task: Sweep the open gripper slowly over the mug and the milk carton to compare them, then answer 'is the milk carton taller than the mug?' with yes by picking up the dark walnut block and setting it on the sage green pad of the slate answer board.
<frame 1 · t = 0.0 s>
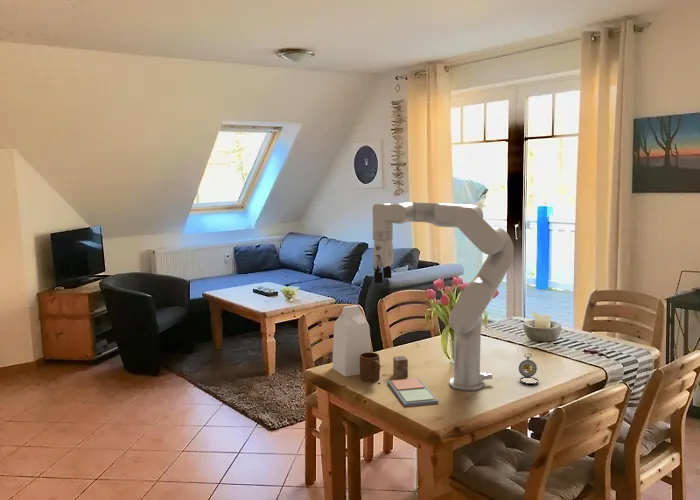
hand: (382, 280, 226), 37 cm above the table, tool pointing down, fingers open, 9 cm apart
milk: (352, 370, 236), on the table
answer board: (411, 392, 211), on the table
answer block: (400, 375, 229), on the table
mug: (372, 381, 224), on the table
pocket watch: (528, 381, 221), on the table
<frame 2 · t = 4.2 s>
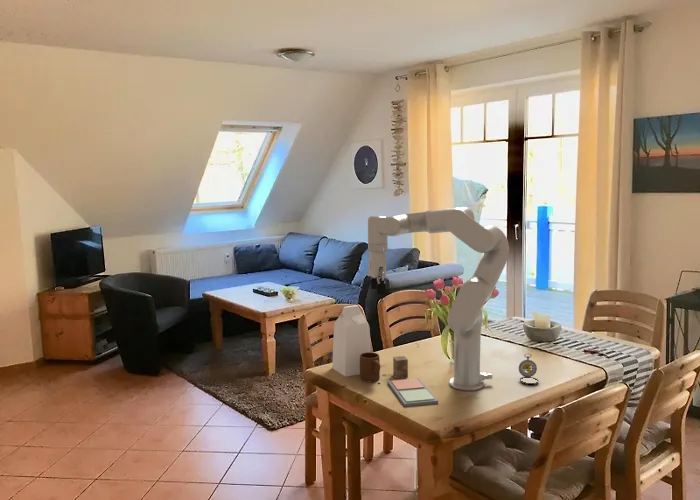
hand: (378, 291, 230), 32 cm above the table, tool pointing down, fingers open, 9 cm apart
nothing on the table moved.
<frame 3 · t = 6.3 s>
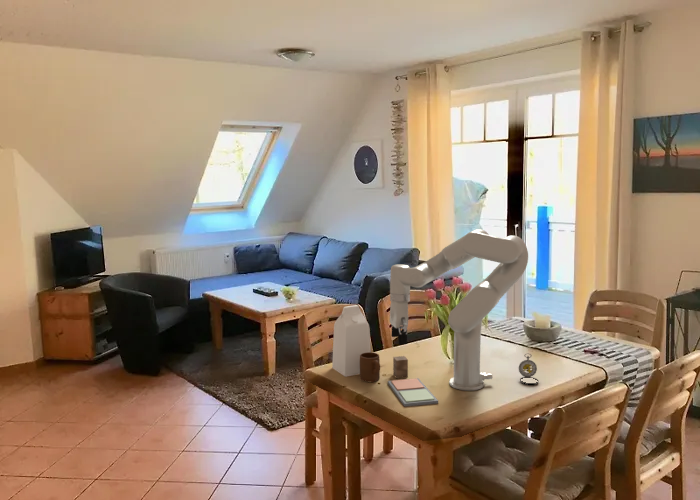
hand: (399, 340, 227), 14 cm above the table, tool pointing down, fingers open, 9 cm apart
nothing on the table moved.
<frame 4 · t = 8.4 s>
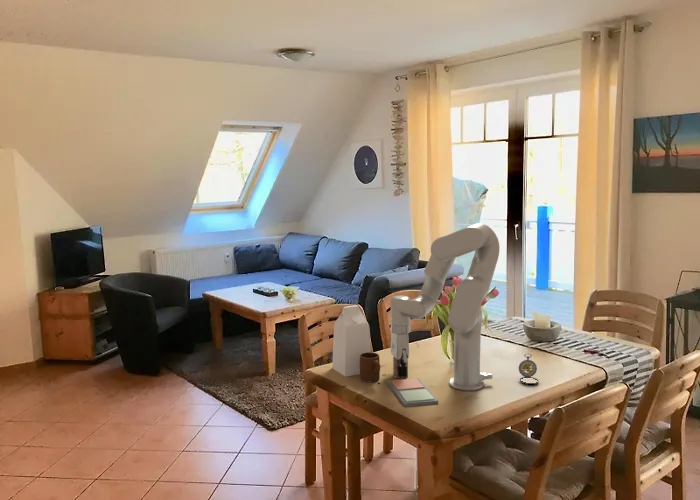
hand: (400, 373, 229), 1 cm above the table, tool pointing down, fingers closed on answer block, 4 cm apart
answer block: (400, 375, 229), on the table, touching gripper
everything else where it was.
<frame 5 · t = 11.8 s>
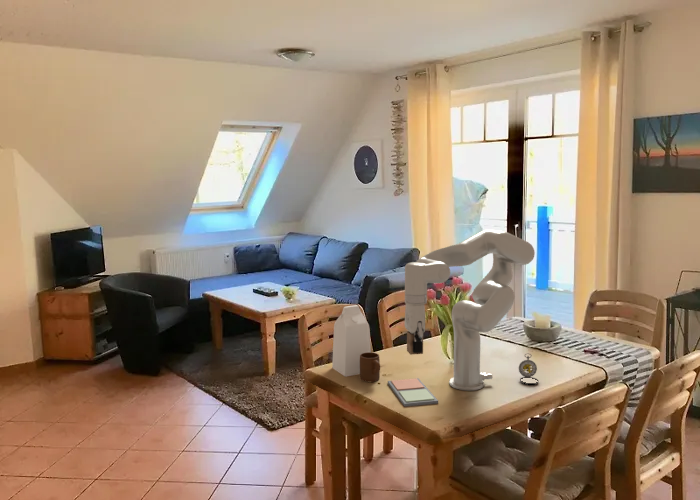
hand: (415, 349, 204), 17 cm above the table, tool pointing down, fingers closed on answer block, 4 cm apart
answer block: (414, 352, 205), point 17 cm above the table, touching gripper
everything else where it was.
when the fingers open (4 cm above the table, at t = 15.3 s): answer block drops 1 cm, resting on answer board.
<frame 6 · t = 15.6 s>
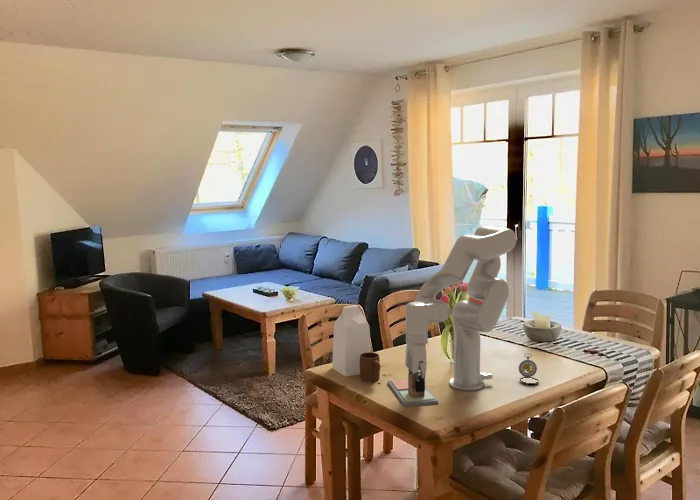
hand: (416, 386, 205), 4 cm above the table, tool pointing down, fingers open, 7 cm apart
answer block: (416, 394, 206), point 1 cm above the table, touching answer board
everything else where it was.
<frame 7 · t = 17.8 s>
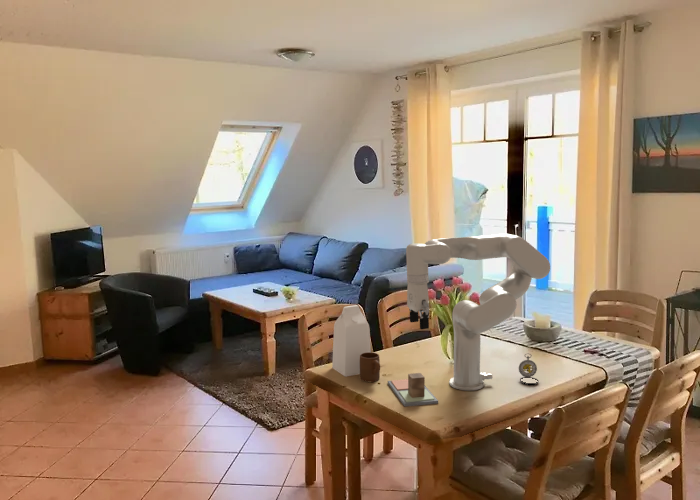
hand: (419, 325, 212), 24 cm above the table, tool pointing down, fingers open, 9 cm apart
nothing on the table moved.
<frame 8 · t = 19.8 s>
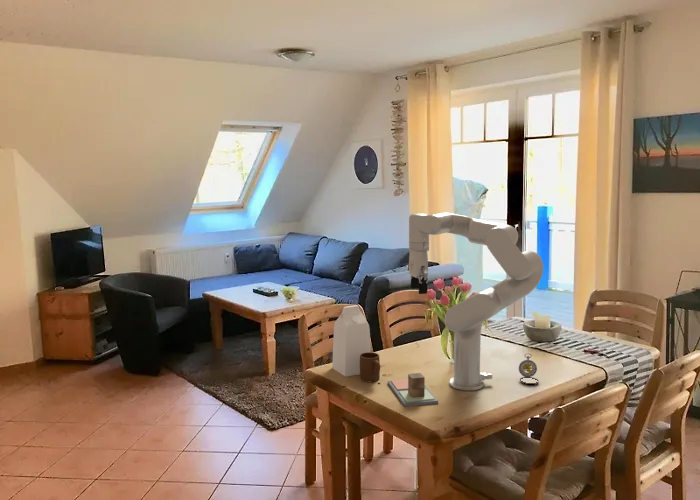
hand: (418, 290, 225), 33 cm above the table, tool pointing down, fingers open, 9 cm apart
nothing on the table moved.
at the end: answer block inside the target area on the answer board (0.3 cm from its centre), point 1.4 cm above the answer board's base; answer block tilted 0°; mug moved 0.2 cm from its start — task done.
